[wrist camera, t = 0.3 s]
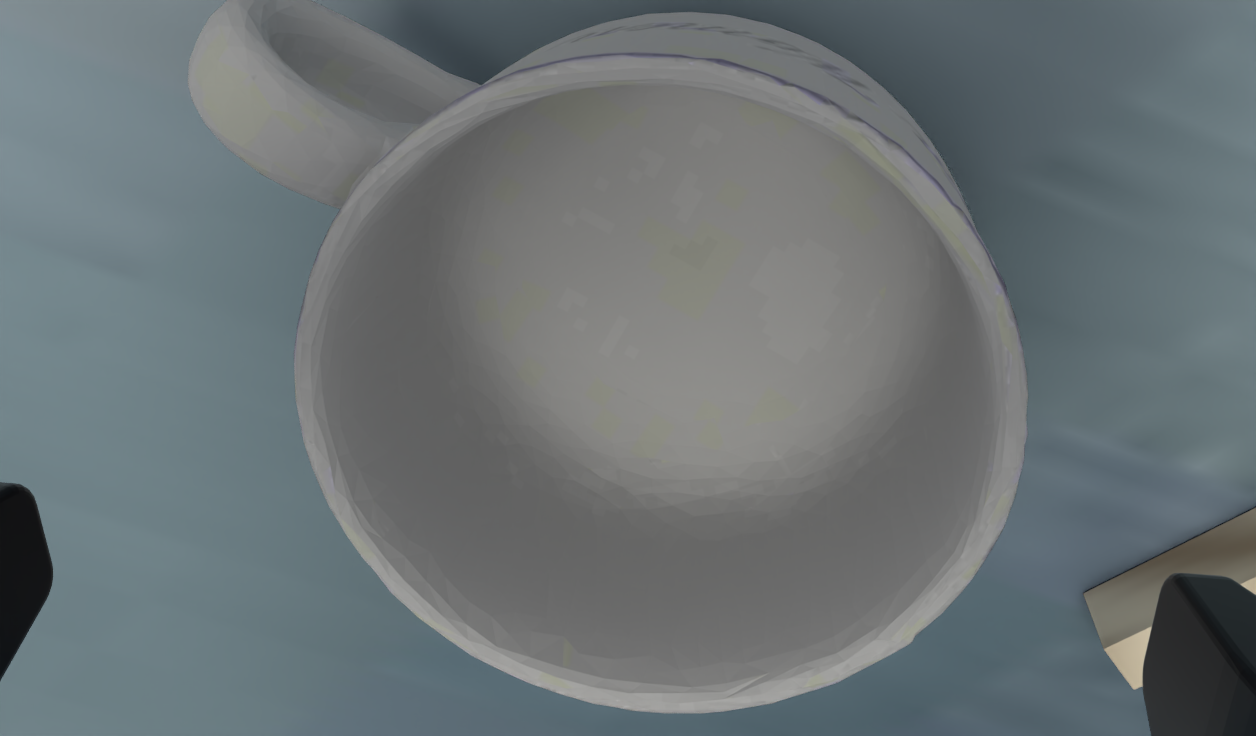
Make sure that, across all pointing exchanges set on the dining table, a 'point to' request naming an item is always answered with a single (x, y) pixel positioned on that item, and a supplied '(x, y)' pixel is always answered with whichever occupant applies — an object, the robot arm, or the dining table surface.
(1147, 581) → the guide chute
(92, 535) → the dining table surface
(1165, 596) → the robot arm
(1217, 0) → the dining table surface
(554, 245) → the teacup
